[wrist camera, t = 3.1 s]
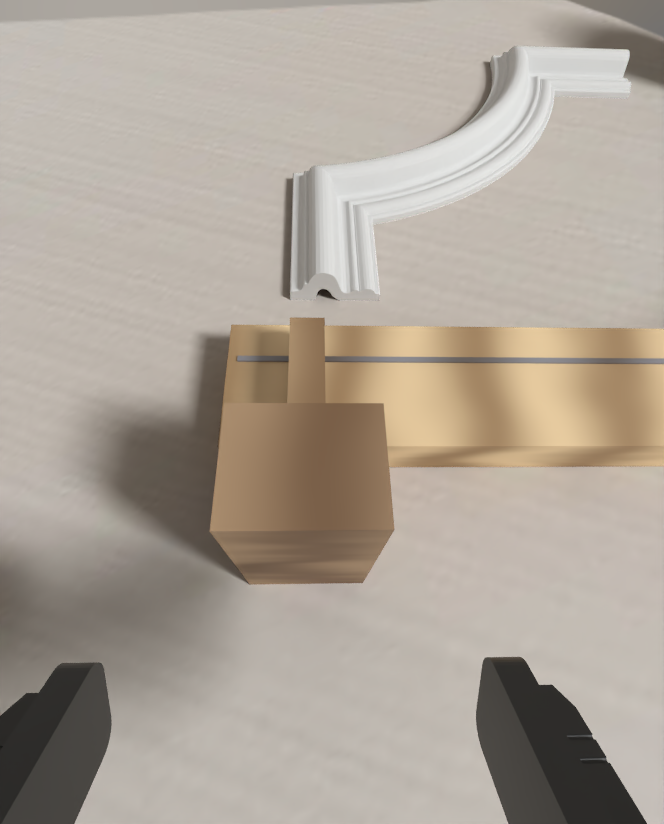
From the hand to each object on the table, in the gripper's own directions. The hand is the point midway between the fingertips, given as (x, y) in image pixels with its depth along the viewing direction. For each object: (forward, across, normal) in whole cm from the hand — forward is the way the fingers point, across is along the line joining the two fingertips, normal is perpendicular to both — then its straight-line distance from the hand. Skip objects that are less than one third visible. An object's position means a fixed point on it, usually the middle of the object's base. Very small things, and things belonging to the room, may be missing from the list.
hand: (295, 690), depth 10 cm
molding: (+33, -14, -17) cm, 39 cm away
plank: (+16, -8, -2) cm, 18 cm away
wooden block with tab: (+14, 0, +1) cm, 14 cm away
